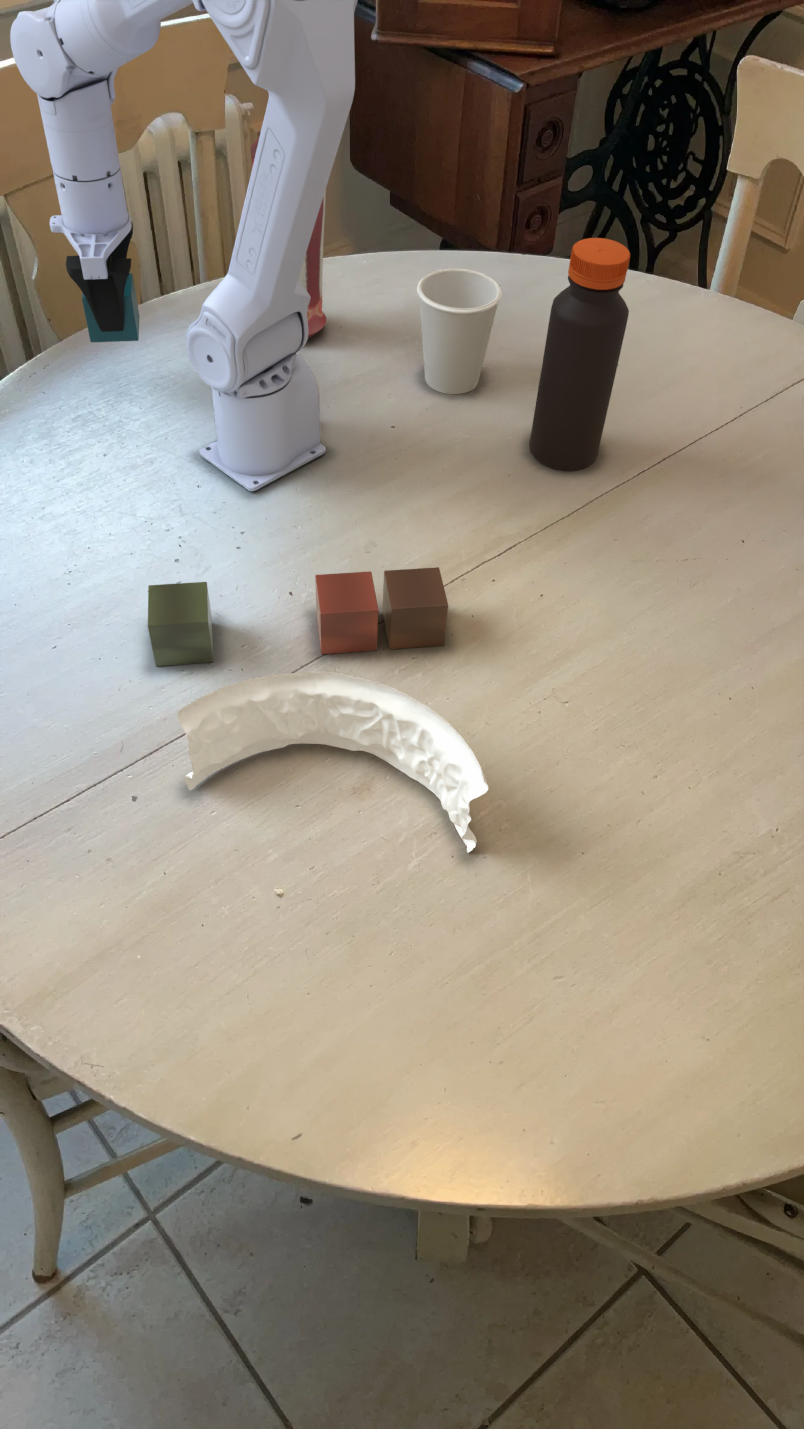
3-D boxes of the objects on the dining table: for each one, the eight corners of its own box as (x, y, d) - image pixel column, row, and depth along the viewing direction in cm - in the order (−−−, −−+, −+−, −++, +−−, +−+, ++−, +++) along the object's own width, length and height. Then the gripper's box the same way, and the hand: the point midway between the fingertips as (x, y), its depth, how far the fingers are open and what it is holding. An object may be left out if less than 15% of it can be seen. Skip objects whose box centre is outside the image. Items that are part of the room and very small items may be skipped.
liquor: (342, 330, 116) (342, 43, 95) (295, 355, 112) (284, 62, 91) (295, 306, 119) (285, 22, 98) (247, 329, 115) (226, 39, 94)
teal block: (139, 316, 104) (132, 272, 100) (138, 340, 101) (131, 296, 97) (93, 318, 103) (84, 274, 100) (90, 342, 100) (81, 297, 97)
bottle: (519, 460, 102) (551, 259, 87) (540, 423, 106) (573, 225, 91) (587, 479, 100) (631, 277, 85) (605, 441, 105) (650, 242, 89)
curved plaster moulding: (481, 856, 72) (490, 776, 66) (186, 884, 70) (168, 804, 64) (454, 735, 80) (460, 655, 74) (189, 758, 78) (173, 677, 72)
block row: (435, 607, 88) (439, 566, 85) (444, 645, 85) (448, 605, 82) (156, 626, 85) (148, 584, 82) (155, 666, 82) (147, 625, 79)
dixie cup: (449, 348, 114) (456, 259, 107) (507, 380, 111) (519, 290, 103) (395, 377, 110) (399, 286, 103) (454, 411, 107) (462, 319, 99)
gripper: (45, 134, 95) (75, 279, 105) (31, 206, 86) (65, 357, 96) (125, 133, 96) (146, 277, 106) (119, 204, 86) (144, 354, 97)
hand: (113, 315), depth 101 cm, fingers closed on teal block, 4 cm apart
